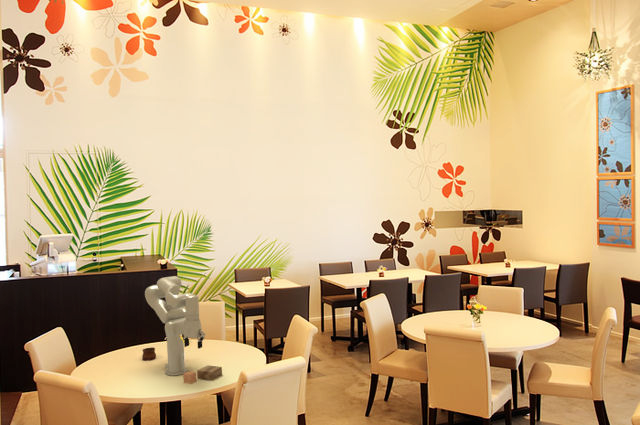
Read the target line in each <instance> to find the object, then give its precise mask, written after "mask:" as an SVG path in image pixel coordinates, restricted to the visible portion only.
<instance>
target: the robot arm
mask: <svg viewBox="0 0 640 425" xmlns="http://www.w3.org/2000/svg"><path fill="white" fill-rule="evenodd" d="M181 288H182V280H181V278H180V277H179V276H177V275H173V276H166V277H161V278H159V279H158V280H157V282H156V284H152V285H150V286H147V288H146V289H145V291H144V297H145V301H146V302H147V304H148V305H149V306H150V307H151V308H152V309H153V310H154V311H155V313H156V315H157V317H158V318H159V320H160V321H161V322H162V324H165V325H164V331H165V336H166V337H165V338H166V347H167V348H166V349H167V350H166V351H167V352H166V353H167V363H165V365H164V366H163V368H165V369H166V370H165V375H167V376H180V375H183V374H184V373H186V372H188V368H187V367H185V348H186V347H188V346H190V339H196V340H197V349H202V348H203V341H204V339H205V337H206V332H204V331H203V330H202V322H201V319H200V301H199V296H198V295H197V294H193V293H192V292H185V293H180V292H181ZM163 298H164V299H165V300H164V299H163ZM182 338H183V339H182ZM189 338H190V339H189Z"/></svg>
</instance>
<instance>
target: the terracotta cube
mask: <svg viewBox="0 0 640 425" xmlns="http://www.w3.org/2000/svg"><path fill="white" fill-rule="evenodd" d="M182 376H183V383H184V384H185V383H186V384H193V383H195V382H197V380H198V379H197V371H192V370H188V371H187V372H186V373H184V374H182Z"/></svg>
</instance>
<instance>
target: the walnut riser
mask: <svg viewBox="0 0 640 425" xmlns="http://www.w3.org/2000/svg"><path fill="white" fill-rule="evenodd" d="M221 376H223V367H222V366H218V365H217V366H215V365H208V364H207V365H205V366H203V367H201V368H200V369H198V370H196V380H206V381H214V380H216V379H218V378H220V377H221Z"/></svg>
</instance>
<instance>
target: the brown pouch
mask: <svg viewBox="0 0 640 425" xmlns="http://www.w3.org/2000/svg"><path fill="white" fill-rule="evenodd" d="M141 357H142V361H148V362H149V361H153V360H154V361H155V359H156V358H157V353H156V347H146V348H143V349H142V356H141Z"/></svg>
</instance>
